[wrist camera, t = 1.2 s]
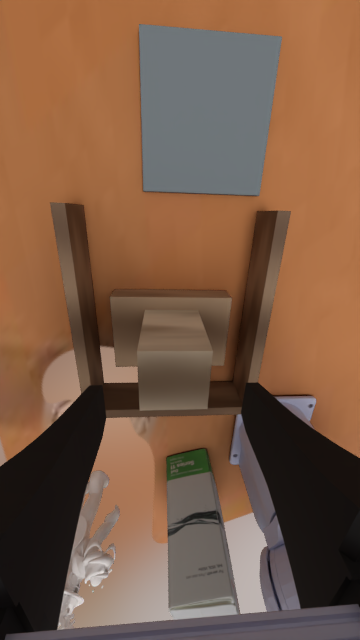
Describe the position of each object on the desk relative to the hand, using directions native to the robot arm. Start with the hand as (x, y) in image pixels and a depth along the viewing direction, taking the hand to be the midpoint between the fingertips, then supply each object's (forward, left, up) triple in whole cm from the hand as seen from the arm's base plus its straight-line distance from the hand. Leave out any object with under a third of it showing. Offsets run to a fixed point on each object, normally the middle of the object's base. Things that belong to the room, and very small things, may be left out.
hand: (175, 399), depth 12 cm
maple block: (0, 0, -7) cm, 7 cm away
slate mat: (+14, -2, -9) cm, 17 cm away
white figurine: (-20, +9, -10) cm, 24 cm away
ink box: (-20, -3, -10) cm, 22 cm away
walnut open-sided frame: (+1, 0, -9) cm, 9 cm away
